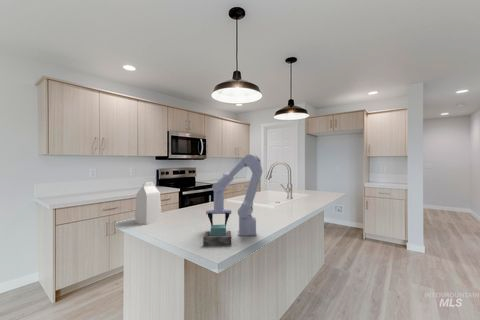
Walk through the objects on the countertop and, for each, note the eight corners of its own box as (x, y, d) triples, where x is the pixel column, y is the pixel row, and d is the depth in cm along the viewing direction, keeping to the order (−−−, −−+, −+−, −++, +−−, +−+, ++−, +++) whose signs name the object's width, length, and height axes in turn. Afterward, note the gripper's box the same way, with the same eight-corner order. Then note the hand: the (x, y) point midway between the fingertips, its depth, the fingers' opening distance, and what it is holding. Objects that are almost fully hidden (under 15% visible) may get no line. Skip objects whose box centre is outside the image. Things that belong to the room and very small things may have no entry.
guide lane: (230, 233, 124) (230, 225, 124) (231, 245, 106) (231, 237, 106) (206, 233, 123) (206, 226, 123) (203, 246, 105) (203, 237, 105)
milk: (146, 224, 140) (146, 183, 139) (134, 222, 145) (134, 182, 145) (161, 220, 150) (161, 181, 150) (150, 218, 156) (150, 181, 156)
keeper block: (225, 233, 124) (225, 224, 124) (225, 237, 118) (225, 227, 118) (211, 234, 123) (211, 225, 123) (210, 237, 117) (210, 228, 117)
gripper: (231, 201, 133) (231, 224, 133) (206, 201, 132) (206, 224, 132) (231, 203, 126) (231, 227, 126) (205, 204, 125) (205, 228, 125)
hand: (218, 226), depth 129 cm, fingers open, 7 cm apart
